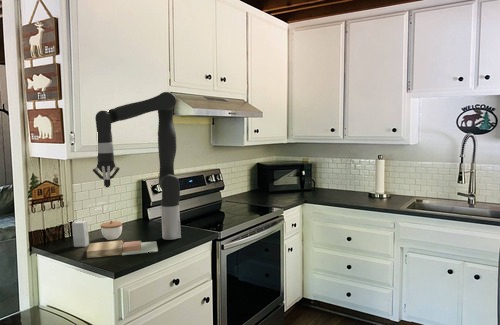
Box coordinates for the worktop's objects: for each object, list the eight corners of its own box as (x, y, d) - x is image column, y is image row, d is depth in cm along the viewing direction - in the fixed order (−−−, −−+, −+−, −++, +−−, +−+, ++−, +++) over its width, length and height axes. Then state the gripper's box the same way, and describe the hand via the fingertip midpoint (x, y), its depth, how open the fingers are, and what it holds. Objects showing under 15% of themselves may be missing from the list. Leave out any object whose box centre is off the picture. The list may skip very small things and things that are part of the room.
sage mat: (156, 242, 199) (156, 241, 199) (157, 251, 184) (157, 250, 184) (123, 245, 195) (123, 244, 195) (121, 255, 180) (121, 254, 179)
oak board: (123, 246, 193) (122, 240, 193) (122, 254, 181) (121, 248, 181) (90, 249, 189) (89, 243, 189) (86, 258, 177) (86, 251, 177)
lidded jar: (124, 234, 214) (123, 217, 213) (121, 240, 204) (120, 222, 203) (103, 236, 213) (102, 219, 212) (99, 241, 202) (98, 223, 201)
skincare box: (89, 244, 198) (88, 220, 197) (85, 247, 193) (83, 223, 192) (77, 244, 198) (76, 220, 197) (73, 247, 194) (71, 223, 193)
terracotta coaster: (141, 245, 193) (140, 240, 193) (141, 249, 186) (141, 245, 185) (124, 246, 191) (123, 242, 191) (123, 251, 183) (123, 247, 183)
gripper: (119, 151, 198) (121, 185, 199) (91, 152, 194) (93, 186, 196) (119, 151, 190) (121, 187, 192) (89, 153, 187) (92, 189, 188)
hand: (107, 187), depth 194 cm, fingers closed
